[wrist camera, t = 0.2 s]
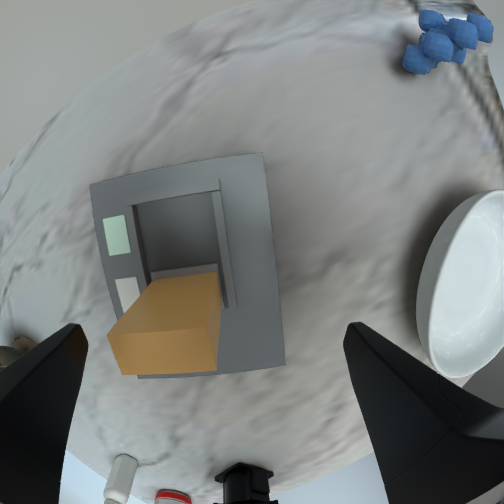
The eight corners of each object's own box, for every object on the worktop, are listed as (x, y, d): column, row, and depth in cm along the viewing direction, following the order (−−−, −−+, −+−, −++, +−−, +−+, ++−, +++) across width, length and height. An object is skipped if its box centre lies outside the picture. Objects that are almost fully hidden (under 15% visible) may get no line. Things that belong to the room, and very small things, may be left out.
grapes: (419, 23, 19) (474, -15, 7) (451, 66, 20) (515, 40, 9) (363, 43, 20) (425, -16, 8) (403, 94, 21) (483, 58, 9)
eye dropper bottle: (104, 455, 28) (84, 510, 16) (129, 452, 28) (110, 515, 16) (123, 470, 29) (107, 524, 17) (148, 468, 29) (134, 528, 17)
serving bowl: (437, 151, 23) (482, 145, 16) (513, 236, 26) (545, 245, 19) (359, 328, 26) (391, 363, 19) (455, 363, 29) (482, 386, 22)
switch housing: (281, 351, 26) (287, 371, 22) (144, 364, 25) (135, 384, 22) (259, 157, 22) (263, 150, 18) (102, 185, 21) (83, 184, 18)
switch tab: (224, 306, 21) (220, 379, 12) (161, 313, 21) (124, 383, 12) (217, 262, 21) (206, 314, 11) (151, 271, 20) (101, 323, 11)
